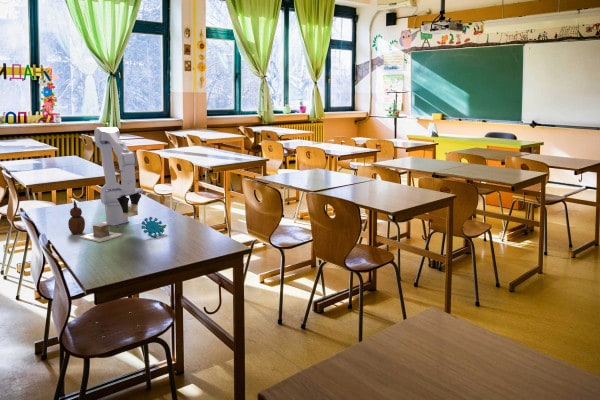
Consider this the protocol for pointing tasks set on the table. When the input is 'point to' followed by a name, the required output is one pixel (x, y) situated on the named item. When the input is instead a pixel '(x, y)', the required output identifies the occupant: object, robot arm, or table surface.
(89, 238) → the board
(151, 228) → the teal virus model
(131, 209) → the birch block
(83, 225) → the brown gourd
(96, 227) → the walnut block
